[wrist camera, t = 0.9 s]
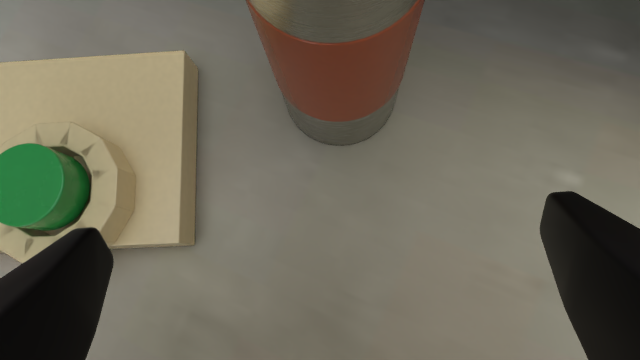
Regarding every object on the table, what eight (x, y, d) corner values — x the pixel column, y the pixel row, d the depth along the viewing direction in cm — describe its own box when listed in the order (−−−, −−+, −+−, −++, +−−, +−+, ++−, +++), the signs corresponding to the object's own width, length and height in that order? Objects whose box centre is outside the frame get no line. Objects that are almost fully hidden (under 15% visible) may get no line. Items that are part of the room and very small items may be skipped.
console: (13, 80, 26) (-47, 46, 22) (198, 68, 25) (170, 31, 21) (-8, 267, 24) (-78, 267, 20) (194, 259, 23) (162, 258, 19)
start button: (19, 156, 21) (-14, 144, 19) (93, 152, 21) (66, 140, 19) (11, 232, 20) (-24, 228, 18) (87, 229, 20) (60, 224, 18)
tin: (400, 143, 23) (472, -33, 10) (286, 149, 24) (202, -12, 10) (392, 39, 25) (446, -248, 11) (284, 46, 25) (206, -224, 11)
